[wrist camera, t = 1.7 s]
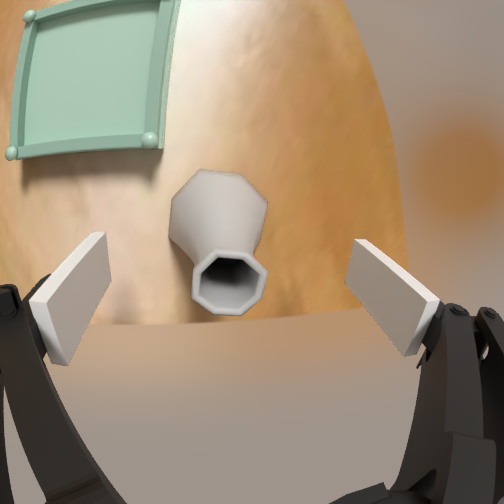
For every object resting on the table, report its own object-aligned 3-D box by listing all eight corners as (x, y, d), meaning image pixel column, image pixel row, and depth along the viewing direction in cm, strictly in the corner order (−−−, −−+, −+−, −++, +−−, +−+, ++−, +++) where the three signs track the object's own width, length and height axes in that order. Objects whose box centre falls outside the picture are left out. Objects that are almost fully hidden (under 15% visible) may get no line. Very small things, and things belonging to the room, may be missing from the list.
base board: (23, 158, 16) (4, 163, 14) (39, 20, 12) (23, 11, 9) (164, 147, 18) (158, 149, 16) (181, -4, 14) (179, -20, 11)
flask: (153, 240, 21) (122, 320, 12) (194, 151, 19) (184, 167, 10) (238, 276, 23) (261, 365, 14) (283, 195, 21) (342, 246, 12)
